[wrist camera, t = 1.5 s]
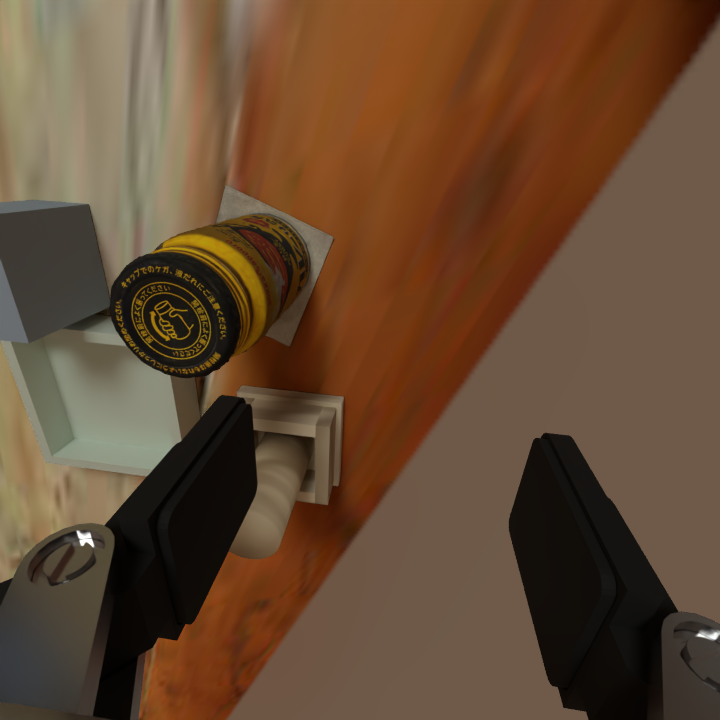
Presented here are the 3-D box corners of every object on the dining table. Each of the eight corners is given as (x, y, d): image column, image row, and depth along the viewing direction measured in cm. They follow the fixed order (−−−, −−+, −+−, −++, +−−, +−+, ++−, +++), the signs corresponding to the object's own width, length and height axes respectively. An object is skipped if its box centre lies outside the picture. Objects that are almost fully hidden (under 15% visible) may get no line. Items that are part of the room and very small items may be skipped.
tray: (187, 323, 29) (163, 339, 26) (206, 457, 34) (188, 482, 32) (30, 308, 30) (-7, 321, 27) (73, 440, 36) (45, 462, 33)
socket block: (344, 396, 30) (335, 423, 27) (340, 477, 34) (332, 509, 30) (242, 385, 31) (222, 409, 28) (248, 465, 34) (232, 495, 31)
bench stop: (88, 204, 26) (-15, 215, 20) (111, 306, 29) (28, 343, 23) (32, 200, 26) (-87, 209, 20) (61, 301, 30) (-34, 336, 23)
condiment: (334, 236, 25) (275, 286, 14) (290, 345, 29) (217, 449, 18) (227, 184, 25) (83, 196, 14) (196, 302, 28) (63, 384, 18)
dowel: (314, 423, 30) (279, 515, 22) (314, 464, 32) (281, 563, 24) (264, 417, 31) (210, 505, 23) (266, 458, 32) (217, 553, 24)
